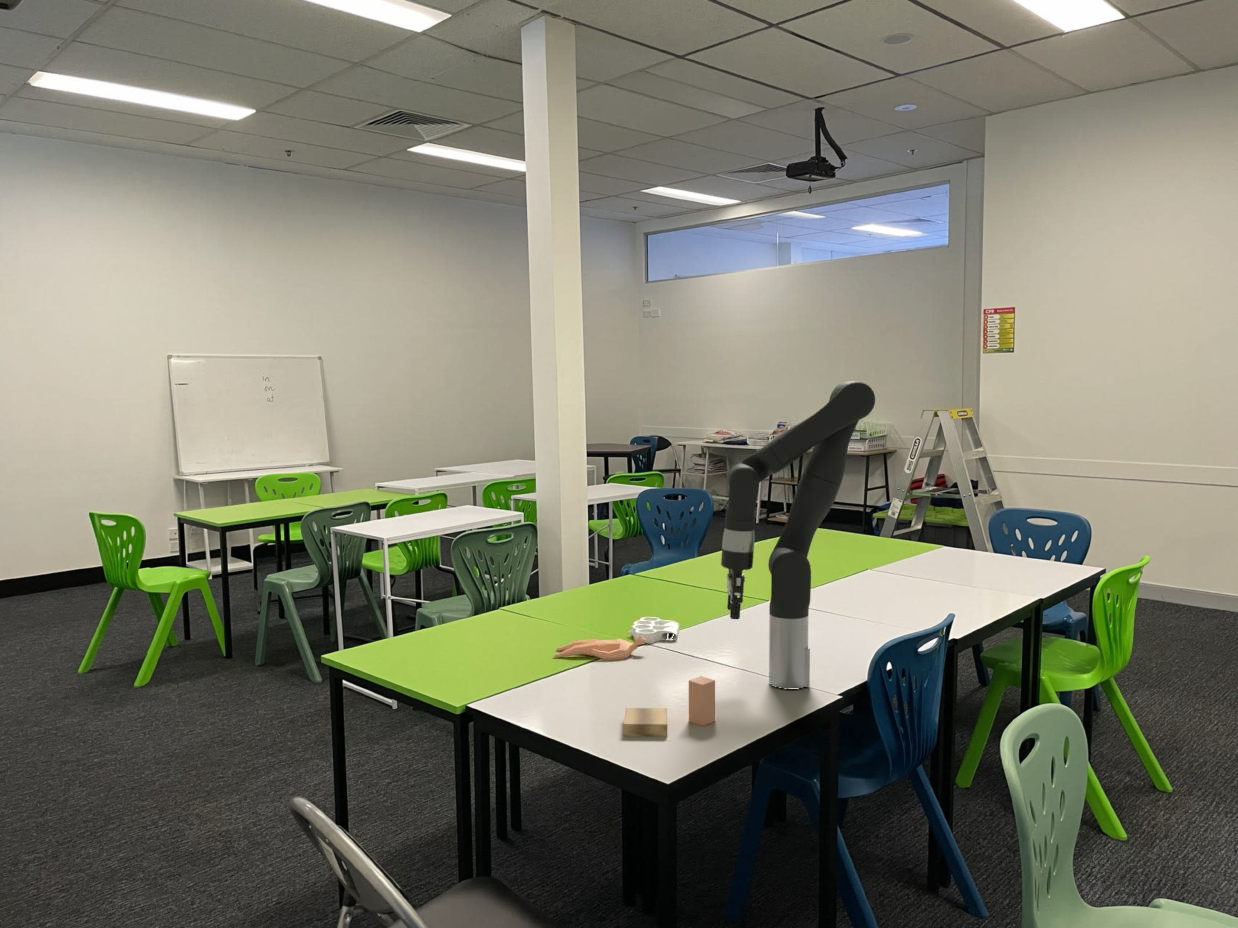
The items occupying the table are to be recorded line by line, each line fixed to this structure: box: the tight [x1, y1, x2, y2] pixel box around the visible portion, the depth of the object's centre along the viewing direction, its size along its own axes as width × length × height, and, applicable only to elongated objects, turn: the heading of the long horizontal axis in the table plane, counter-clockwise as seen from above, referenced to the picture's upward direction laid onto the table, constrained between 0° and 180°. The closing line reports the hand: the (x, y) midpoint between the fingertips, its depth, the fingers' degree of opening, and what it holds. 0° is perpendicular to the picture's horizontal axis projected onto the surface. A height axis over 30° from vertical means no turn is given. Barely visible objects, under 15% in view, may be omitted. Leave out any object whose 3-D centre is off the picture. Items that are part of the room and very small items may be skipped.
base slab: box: [623, 707, 668, 738], centre depth 183 cm, size 9×9×3 cm
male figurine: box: [553, 637, 646, 661], centre depth 234 cm, size 11×5×25 cm
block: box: [688, 675, 716, 727], centre depth 186 cm, size 4×4×9 cm
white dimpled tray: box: [626, 616, 680, 644], centre depth 253 cm, size 3×18×15 cm
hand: (733, 614), depth 208 cm, fingers open, 8 cm apart
